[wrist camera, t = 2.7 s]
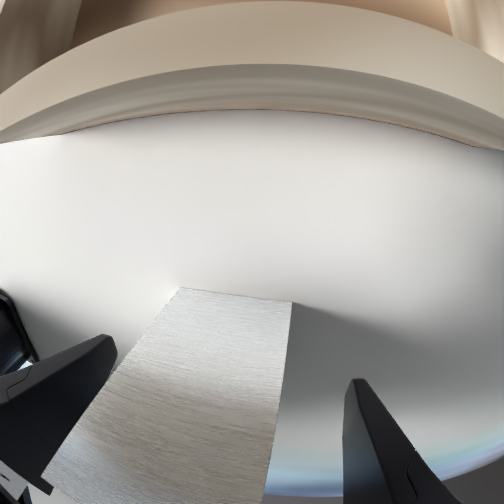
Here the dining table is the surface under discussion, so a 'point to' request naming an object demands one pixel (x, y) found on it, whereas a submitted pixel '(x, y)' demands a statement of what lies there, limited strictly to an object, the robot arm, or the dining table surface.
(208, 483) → the light grey rectangular block
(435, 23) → the beige tray
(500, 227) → the dining table surface
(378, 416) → the robot arm
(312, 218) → the dining table surface
